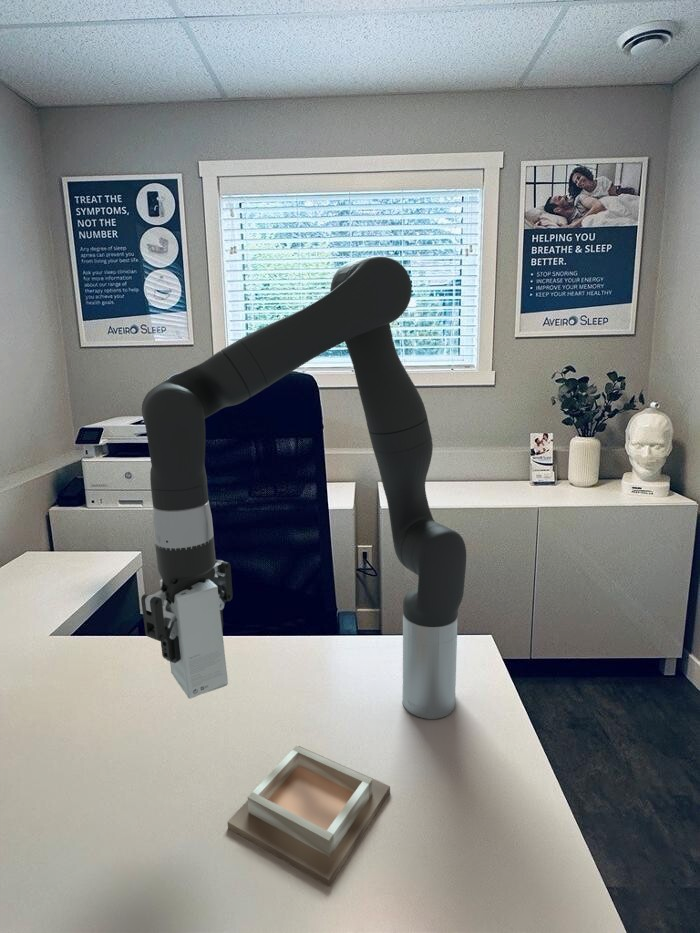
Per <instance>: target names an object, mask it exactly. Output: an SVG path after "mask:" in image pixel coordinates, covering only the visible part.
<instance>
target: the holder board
mask: <svg viewBox="0 0 700 933" xmlns="http://www.w3.org/2000/svg"><path fill="white" fill-rule="evenodd" d="M390 793H391V785H389V784H386V783H384V782H381V781H379V780H377V779H374V778H373V777H370V776H368V775H365V774H363V773H361V772H359V771H357V770H354V769H353V768H350V767H347V766H346V765H343V764H341V763H339V762H336V761H335V760H332V759H330V758H328V757H325V756H323V755H320V754H318V753H316V752H314V751H311V750H310V749H307V748H305V747H303V746H300V745H295V746H294V748H292V749H291V751H290V752H288V754H286V756H285V757H284V758H283V759H282V760H281V761H280V762H279V763H278V764H277V766H275V767H274V768H273V770H272V771H271V772H270V773H269V774H268V775H267V776H266V777H265V778H264V779H263V780H262V781H261V782H260V783H259V784H258V785H257V787H256V788H255V789H254V790H253V791H252V792H251V793H250V794H249V795H248V796H247V800H246V801H245V802H244V803H243V804H242V806H240V808H239V809H238V810H237V811H236V812H235V813H234V814H233V815H232V816H231V817H230V818H229V819H228V820H227V829H230V831H232V832H235V834H237V835H239V836H241V837H243V838H245V839H247V840H248V841H250V842H251V843H253V844H255V845H257V846H259V848H262V849H264V850H265V851H267V852H269V853H270V854H272V855H274V856H275V857H277V858H279V859H281V860H283V861H284V862H286V863H287V864H289V865H291V866H293V867H295V868H296V869H298V870H300V871H302V872H303V873H304V874H307V875H309V876H310V877H312V878H314V879H315V880H316V881H318V882H320V883H322V884H324V885H325V886H327V887H330V886H331V884H332V882H333V881H334V880H335V878H336V876H337V875H338V873H339V872H340V870H341V869H342V867H343V866H344V864H345V862H346V861H347V860H348V858H349V857H350V854H351V853H352V852H353V850H354V849H355V847H356V846H357V845H358V843H359V841H360V840H361V838H362V836H363V835H364V833H365V832H366V830H367V829H368V827H369V825H370V824H371V823H372V821H373V819H374V818H375V816H376V815H377V813H378V812H379V809H380V808H382V807H381V806H382V805H383V804H384V802H385V801H386V799H387V798H388V796H389V795H390ZM366 828H367V829H366Z"/></svg>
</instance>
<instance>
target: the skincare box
mask: <svg viewBox="0 0 700 933" xmlns="http://www.w3.org/2000/svg"><path fill="white" fill-rule="evenodd" d="M206 580H207V581H208V582H205V583H202V582H198V583H196V584H194V585H192V586H191V587H192V588H194V589H192V590H187V589H186V590H183V591H181V592H179V593H178V594H176V595H175V597H174V604H173V603H172V602H171V604H170V603H169V606H170V611H171V612H172V613H174V614H176V617H177V627H178V633H177V636H178V641H179V650H180V661H178V662H176V663H173V662H170V661H169V664H170V673H171V675H172V676H173V678H174V680H175V681H176V682H177V684H178V685H179V687H180V688H181V689H182V691H183V692H184V693H185V695H186V697H187V699H194V698H196V697H198V696H200V695H204V694H206V693H209V692H212V691H215V690H218V689H222V688H225V687H226V686H228V685H229V679H228V671H227V662H226V661H227V660H226V654H225V652H226V651H225V644H224V635H223V634H224V633H223V628H222V624H221V616H220V606H219V597H218V586H217V585H215V584H214V581H213V582H212V581H211V580H209V579H206ZM161 586H162V578H161V579H159V587H160V588H161ZM164 602H165V600H164ZM171 623H172V619H171V620H170V623H169V626H168V628H170V626H171Z"/></svg>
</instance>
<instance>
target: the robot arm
mask: <svg viewBox="0 0 700 933" xmlns="http://www.w3.org/2000/svg"><path fill="white" fill-rule="evenodd" d="M412 288H413V287H412V280H411V277H410V275H409V273H408V271H407V269H406V268H405V267H404V265H402V263H400V262H399V261H397V260H396V259H394V258H392V257H388V256H383V255H382V256H381V255H371V256H368V257H362V258H359V259H356V260H352V261H349V262H346V263H344V264H343V265H341V267H339V268H338V270H336V272H335V274H334V275H333V277H332V279H331V284H330V291H329V292H328V293H327V294H326V295H323V297H320V298H319V299H318V300H316V301H314V302H313V303H311V304H309V305H308V306H306V307H304V308H302V309H300V310H297V311H296V312H294V313H291V314H290V315H287V316H285V317H283V318H281V319H277V320H276V321H274V322H271V323H270V324H267V325H265V326H263V327H260V328H259V329H256V330H254V331H252V332H251V333H248V334H247V335H245V336H243V337H241V338H239V339H238V340H236V341H234V342H232V343H231V344H229V345H228V346H226V347H224V348H223V349H221V350H219V351H218V352H216V353H214V354H213V355H212V356H210V357H209V358H208V359H206V360H204V361H202V362H201V363H199V364H197V365H195V366H193V367H191V368H188V369H186V370H184V371H181V372H180V373H178V374H175V375H174V376H171V377H170V378H168V379H166V380H164V381H162V382H160V383H159V384H157V385H156V386H154V387H153V388H151V390H149V391H148V392H147V393H146V395H144V399H143V401H142V404H141V415H142V418H143V421H144V426H145V431H146V438H147V445H148V451H149V452H148V453H149V456H150V458H149V459H150V463H151V464H150V465H151V468H150V472H149V473H150V477H149V479H150V491H151V499H152V500H151V501H152V512H153V513H152V528H153V538H154V546H155V554H156V564H157V570H158V573H159V575H160V578H161V579H162V586H161V587H160V590H158V591H156V592H155V593H153V594H149V593H144V594H143V595H141V597H140V598H141V600H140V601H141V607H142V610H141V611H142V615H143V616H142V618H143V623H144V624H143V625H144V633H145V636H146V637H147V638H150V639H152V640H153V639H154V640H155V641H159V642H160V646H161V655H162V657H163V659H165V660H166V661H168V662H169V663H170V662H173V663H176V662H178V661H180V650H179V641H178V636H177V633H178V627H177V617H176V614H174V613H172V612H171V611H170V606H169V603H170V604H171V602H172V603H173V604H174V597H175V595H176V594H178V593H179V592H181V591H183V590H186V589H187V590H192V589H194V588H192V587H191V586H192V585H194V584H196V583H198V582H202V583H205V582H208V581H207V580H206V579H209V580H211V581H212V582H213V583H214V584H215V585H217V586H218V597H219V606H220V616H221V624H222V629H223V628H224V617H223V610H224V608H225V603H226V602H231V600H233V597H234V595H233V594H234V593H233V583H232V582H233V581H232V579H233V578H232V568H231V562H227V561H224V560H222V559H216V558H217V557H216V549H215V536H214V526H213V517H212V516H213V515H212V511H211V506H210V501H209V500H210V499H209V490H208V476H207V473H206V472H207V471H206V466H205V459H206V458H205V457H206V420H205V419H207V418H208V417H211V416H212V415H214V414H215V413H217V412H219V411H220V410H222V409H224V408H227V407H232V406H236V405H240V404H242V403H244V402H246V401H247V400H248V399H250V398H252V397H253V396H255V395H257V394H258V393H261V392H262V391H263V390H265V389H266V388H268V387H270V386H271V385H273V384H275V383H276V382H277V381H280V380H281V379H282V378H284V377H285V376H287V375H288V374H290V373H292V372H293V371H295V370H296V369H298V368H300V367H301V366H303V365H304V364H306V363H308V362H310V361H311V360H313V359H315V358H316V357H318V356H320V355H322V354H323V353H325V352H327V351H329V350H331V349H333V348H334V347H336V346H339V345H341V344H343V343H345V345H346V348H347V352H348V354H349V357H350V360H351V362H352V363H351V364H352V367H353V370H354V374H355V379H356V385H357V388H358V392H359V393H358V394H359V396H360V400H361V405H362V408H363V413H364V417H365V421H366V427H367V430H368V435H369V438H370V442H371V446H372V450H373V453H374V457H375V459H376V462H377V466H378V471H379V475H380V480H381V483H382V487H383V491H384V494H385V499H386V503H387V508H388V513H389V520H390V521H389V522H390V528H391V537H392V541H393V542H392V544H393V548H394V552H395V555H396V557H397V559H398V560H399V562H400V563H401V565H403V567H405V568H406V569H407V570H409V571H410V572H412V573H413V574H415V575H417V576H418V579H417V580H418V582H417V588H415V589H413V590H410V591H409V592H407V593H406V594H405V596H404V598H403V602H402V704H403V707H404V708H405V709H406V711H407V712H408V713H410V714H412V715H413V716H416V717H418V718H421V719H427V720H436V719H438V720H439V719H441V718H445V717H447V716H449V715H450V714H452V712H453V711H454V709H455V706H456V685H457V683H456V682H457V655H458V654H457V653H458V650H457V648H458V646H457V645H458V619H459V618H458V616H459V608H460V605H461V604H462V601H463V598H464V590H465V578H466V569H467V568H466V567H467V566H466V565H467V549H466V548H467V546H466V544H465V541H464V539H463V537H462V536H461V534H460V533H459V532H457V531H455V530H454V529H451V528H449V527H448V526H445V525H443V524H440V523H438V522H436V521H435V520H434V518H433V515H432V513H431V512H432V511H431V509H430V505H429V501H428V497H427V493H426V480H427V475H428V472H429V469H430V466H431V460H432V457H433V447H434V446H433V445H434V444H433V438H432V434H431V427H430V424H429V423H430V422H429V419H428V414H427V411H426V406H425V404H424V402H423V399H422V397H421V395H420V393H419V391H418V388H416V386H415V384H414V382H413V380H412V378H411V377H410V375H409V373H408V371H407V370H406V368H405V367H404V364H403V363H402V361H401V360H400V357H399V355H398V352H397V350H396V345H395V343H394V338H393V334H392V329H391V323H394V322H395V321H396V320H398V319H399V318H400V317H401V316H402V315H403V314H404V313H405V311H406V310H407V308H408V306H409V304H410V302H411V298H412V291H413V289H412ZM164 600H165V602H164ZM171 619H172V623H171V626H170V628H168V626H169V623H170V620H171Z"/></svg>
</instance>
